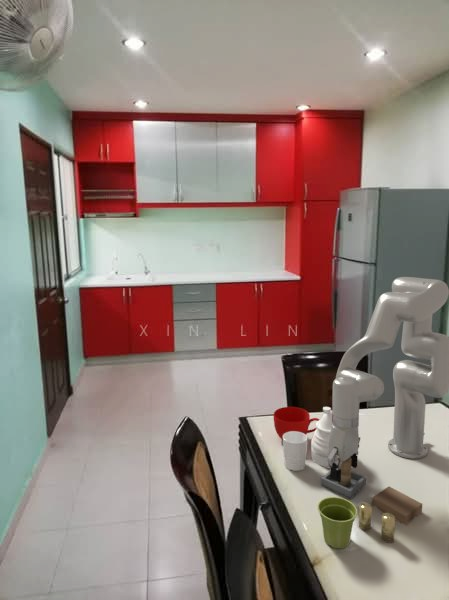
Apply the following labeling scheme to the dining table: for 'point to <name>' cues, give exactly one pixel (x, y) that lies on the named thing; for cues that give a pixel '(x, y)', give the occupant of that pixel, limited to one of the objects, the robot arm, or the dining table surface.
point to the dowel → (345, 473)
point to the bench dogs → (387, 522)
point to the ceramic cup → (292, 420)
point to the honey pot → (322, 439)
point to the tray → (348, 492)
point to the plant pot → (337, 520)
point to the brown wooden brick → (397, 505)
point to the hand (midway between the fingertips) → (343, 473)
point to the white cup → (294, 450)
